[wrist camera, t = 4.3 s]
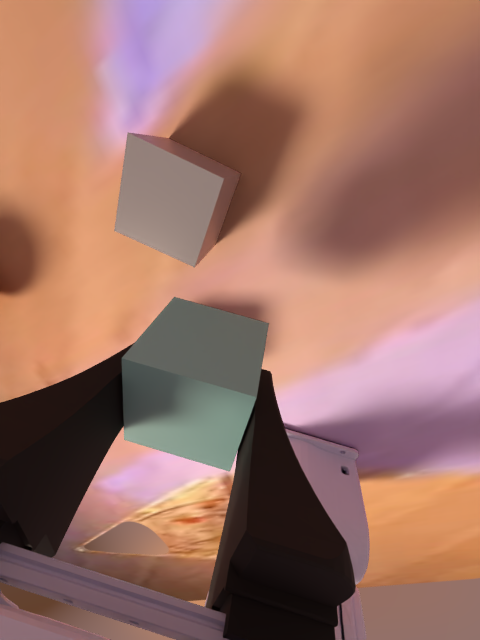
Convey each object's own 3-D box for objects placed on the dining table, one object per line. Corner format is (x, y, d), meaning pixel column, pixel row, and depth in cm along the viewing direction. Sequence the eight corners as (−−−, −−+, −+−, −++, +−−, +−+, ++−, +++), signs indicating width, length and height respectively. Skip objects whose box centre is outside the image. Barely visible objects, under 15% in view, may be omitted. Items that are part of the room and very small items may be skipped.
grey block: (241, 173, 16) (223, 178, 12) (216, 243, 18) (194, 267, 14) (169, 138, 15) (127, 132, 12) (153, 214, 18) (114, 230, 14)
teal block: (268, 323, 12) (256, 397, 9) (246, 390, 15) (229, 471, 11) (174, 296, 13) (121, 357, 9) (167, 367, 15) (124, 439, 11)
